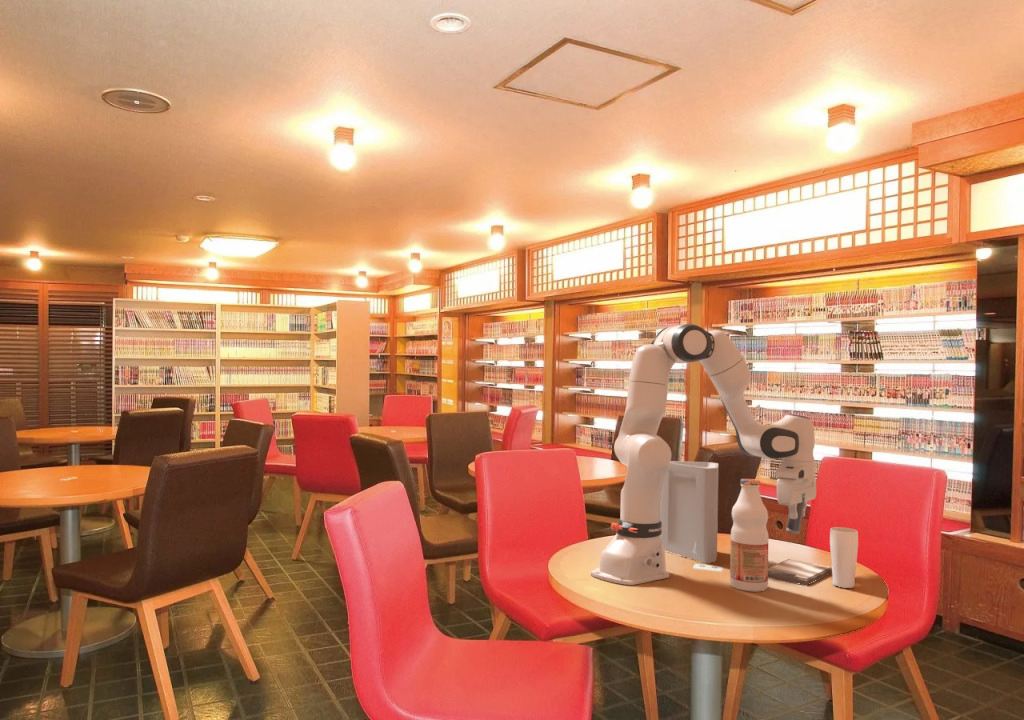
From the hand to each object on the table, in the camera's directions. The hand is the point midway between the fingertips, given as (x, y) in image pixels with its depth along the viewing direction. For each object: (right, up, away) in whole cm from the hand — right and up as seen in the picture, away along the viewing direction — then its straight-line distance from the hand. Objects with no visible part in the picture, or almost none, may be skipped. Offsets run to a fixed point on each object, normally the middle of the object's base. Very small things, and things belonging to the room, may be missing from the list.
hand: (797, 517), depth 203 cm
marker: (-1, -4, +1) cm, 5 cm away
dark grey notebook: (-3, -14, -6) cm, 16 cm away
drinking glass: (+5, -14, -18) cm, 24 cm away
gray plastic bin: (-25, -15, +14) cm, 33 cm away
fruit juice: (-21, -14, -21) cm, 33 cm away
